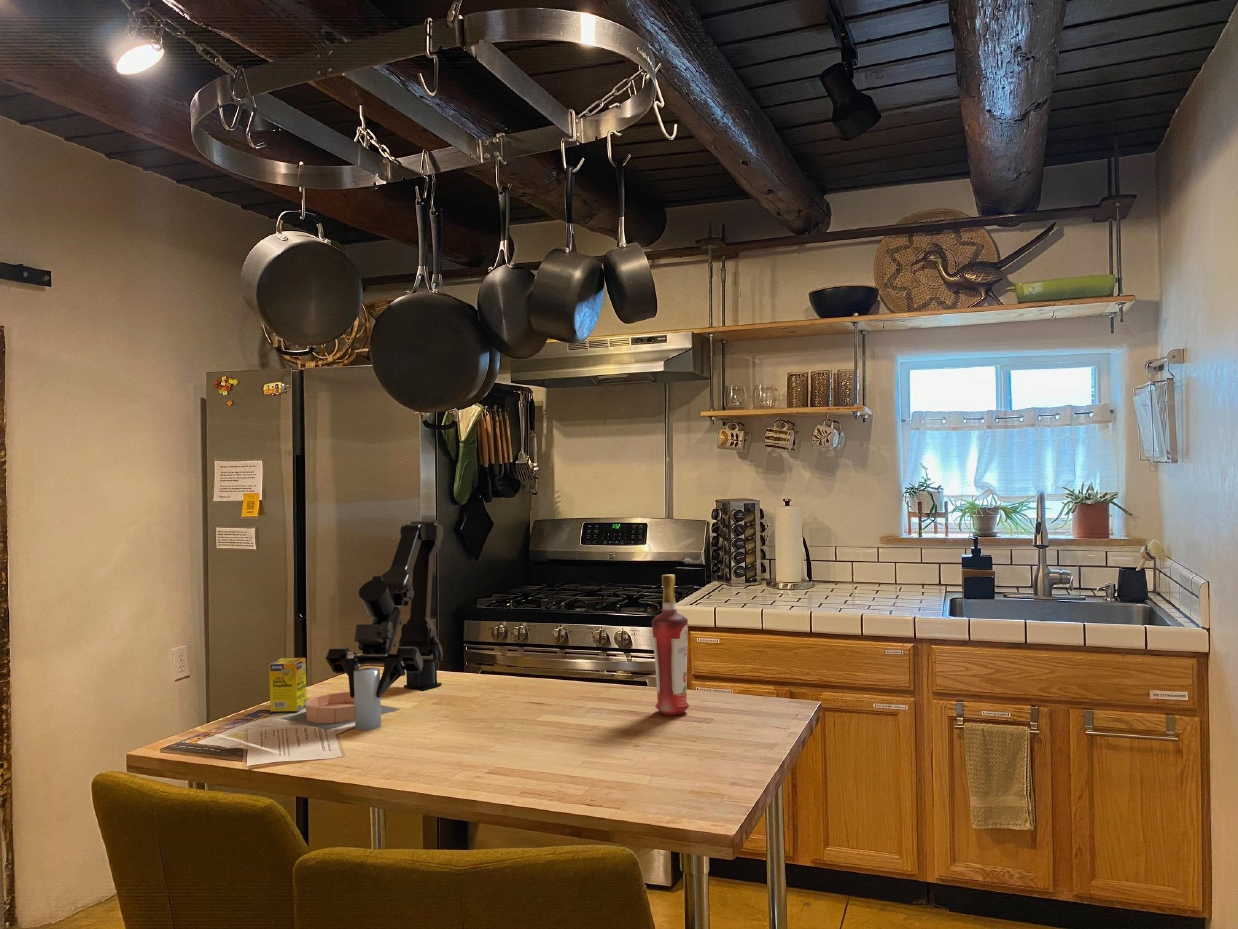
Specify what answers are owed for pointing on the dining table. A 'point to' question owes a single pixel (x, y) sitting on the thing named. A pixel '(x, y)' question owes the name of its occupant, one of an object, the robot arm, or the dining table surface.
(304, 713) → the mat
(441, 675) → the dining table surface
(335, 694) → the dish
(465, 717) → the dining table surface
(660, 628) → the liquor
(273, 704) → the supplement box
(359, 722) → the cylinder
